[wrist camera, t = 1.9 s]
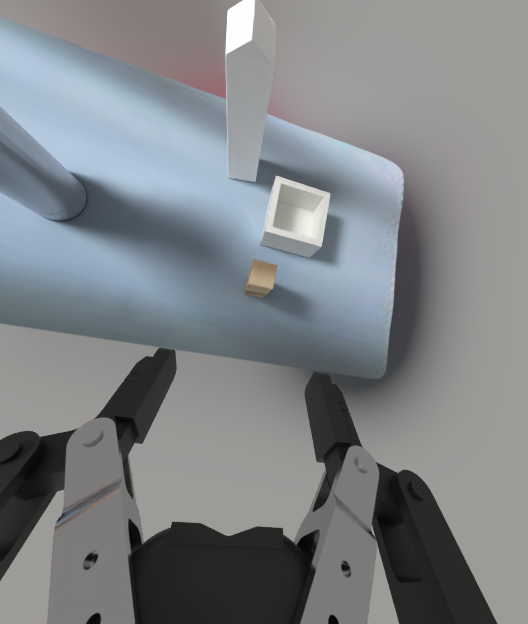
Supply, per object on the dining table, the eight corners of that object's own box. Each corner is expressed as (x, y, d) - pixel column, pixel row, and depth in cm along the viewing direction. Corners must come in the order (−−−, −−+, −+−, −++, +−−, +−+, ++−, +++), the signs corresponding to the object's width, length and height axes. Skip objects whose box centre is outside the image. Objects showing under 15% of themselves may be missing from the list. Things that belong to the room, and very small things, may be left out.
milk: (256, 157, 42) (284, -22, 20) (255, 183, 41) (283, 27, 20) (228, 152, 41) (227, -43, 19) (227, 178, 40) (224, 8, 19)
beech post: (262, 298, 40) (272, 289, 30) (244, 294, 39) (248, 283, 29) (266, 280, 40) (277, 265, 30) (247, 275, 40) (253, 259, 30)
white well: (309, 257, 42) (321, 246, 36) (260, 244, 41) (265, 231, 35) (317, 211, 44) (330, 193, 38) (269, 196, 42) (276, 175, 36)
